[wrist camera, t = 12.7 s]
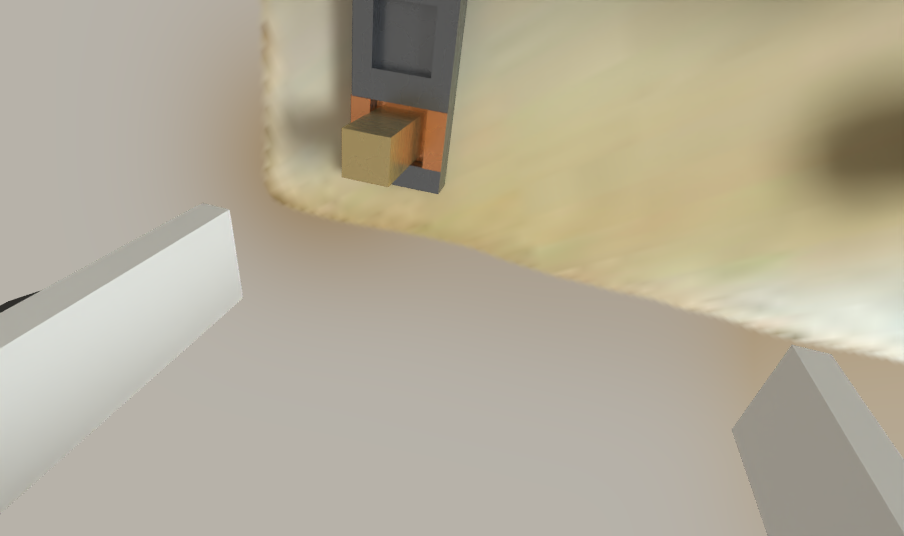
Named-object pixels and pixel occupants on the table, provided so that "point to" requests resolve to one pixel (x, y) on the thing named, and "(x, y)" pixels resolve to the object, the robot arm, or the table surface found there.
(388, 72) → the rail
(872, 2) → the table surface
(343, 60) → the table surface
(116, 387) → the robot arm
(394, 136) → the tan rectangular block
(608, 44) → the table surface
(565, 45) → the table surface
